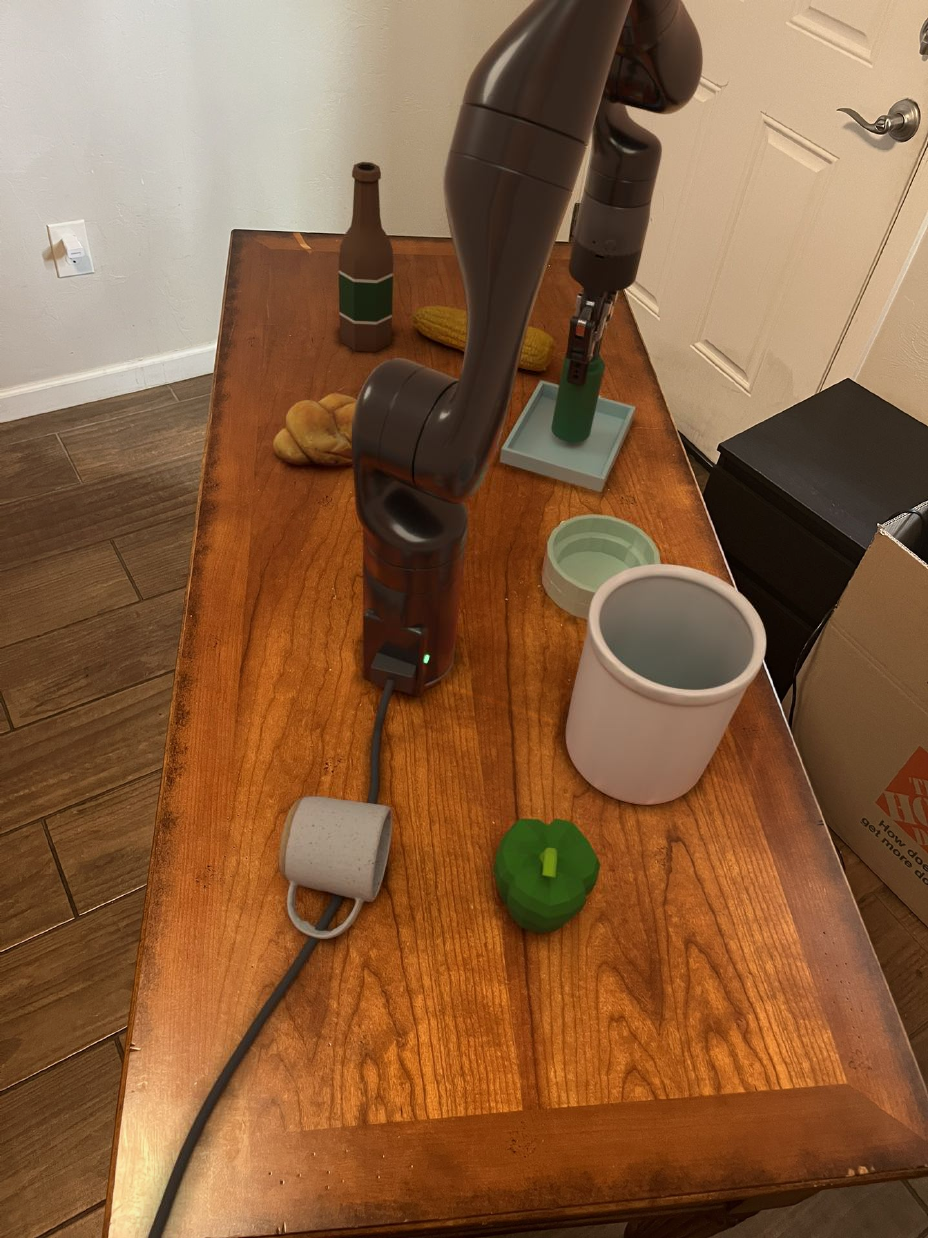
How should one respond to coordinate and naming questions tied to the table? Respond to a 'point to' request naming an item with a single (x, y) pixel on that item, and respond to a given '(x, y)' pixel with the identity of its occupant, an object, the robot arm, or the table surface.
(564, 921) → the bell pepper
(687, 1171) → the table surface
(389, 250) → the beer bottle
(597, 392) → the bottle
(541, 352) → the food
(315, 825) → the ceramic mug
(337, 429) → the bread roll
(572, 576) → the bowl
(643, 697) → the utensil holder
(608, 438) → the tray
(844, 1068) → the table surface
